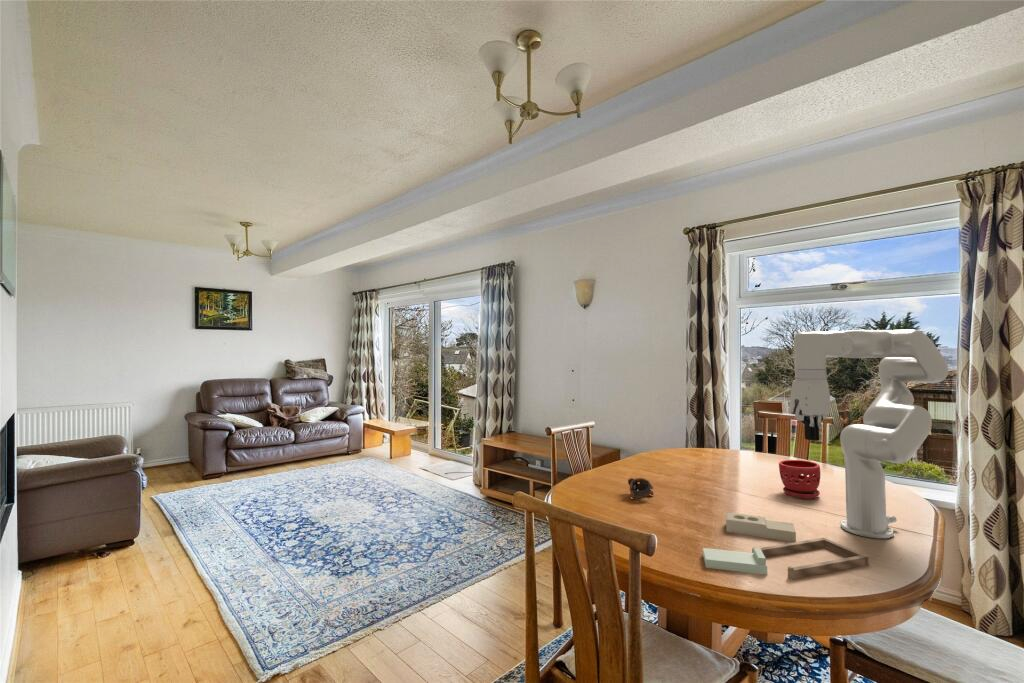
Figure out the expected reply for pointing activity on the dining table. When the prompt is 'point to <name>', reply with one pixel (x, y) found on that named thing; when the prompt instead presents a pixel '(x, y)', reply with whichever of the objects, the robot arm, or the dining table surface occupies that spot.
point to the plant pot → (800, 478)
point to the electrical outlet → (759, 527)
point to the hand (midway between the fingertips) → (812, 439)
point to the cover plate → (735, 560)
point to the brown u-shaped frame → (817, 568)
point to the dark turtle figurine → (640, 488)
